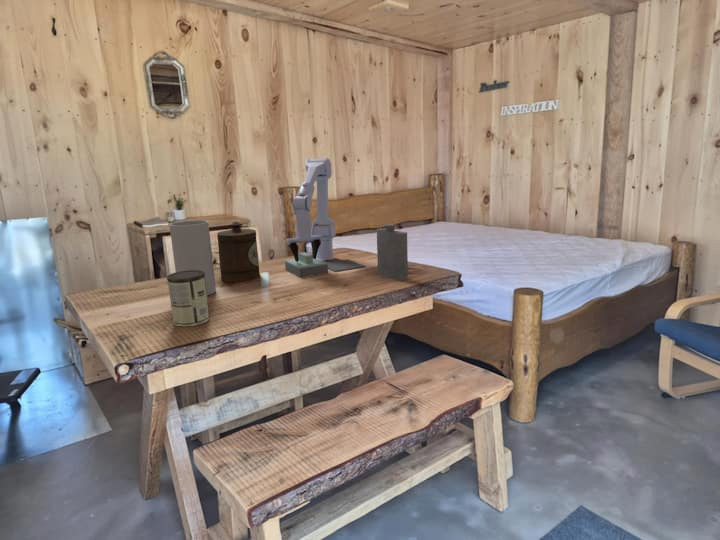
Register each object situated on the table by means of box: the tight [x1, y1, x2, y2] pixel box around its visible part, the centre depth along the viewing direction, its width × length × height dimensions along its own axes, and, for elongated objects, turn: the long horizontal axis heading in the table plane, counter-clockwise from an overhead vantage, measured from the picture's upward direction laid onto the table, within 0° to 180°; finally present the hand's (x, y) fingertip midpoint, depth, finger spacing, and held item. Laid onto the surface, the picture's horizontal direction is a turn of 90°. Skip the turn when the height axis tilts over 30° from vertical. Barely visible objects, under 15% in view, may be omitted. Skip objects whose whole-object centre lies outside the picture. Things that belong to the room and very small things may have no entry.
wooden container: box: [216, 221, 261, 283], centre depth 188 cm, size 15×15×22 cm
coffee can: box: [166, 270, 211, 328], centre depth 140 cm, size 10×10×14 cm
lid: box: [284, 251, 328, 269], centre depth 195 cm, size 16×12×4 cm
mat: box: [326, 258, 367, 273], centre depth 203 cm, size 16×14×1 cm
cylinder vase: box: [169, 219, 217, 297], centre depth 167 cm, size 12×12×25 cm
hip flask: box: [376, 223, 409, 282], centre depth 180 cm, size 16×4×20 cm, turn 36°
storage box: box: [284, 261, 329, 278], centre depth 195 cm, size 16×12×4 cm
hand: (305, 259), depth 195 cm, fingers open, 7 cm apart
